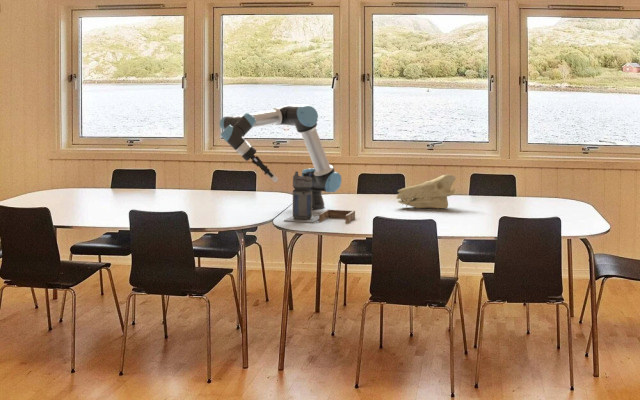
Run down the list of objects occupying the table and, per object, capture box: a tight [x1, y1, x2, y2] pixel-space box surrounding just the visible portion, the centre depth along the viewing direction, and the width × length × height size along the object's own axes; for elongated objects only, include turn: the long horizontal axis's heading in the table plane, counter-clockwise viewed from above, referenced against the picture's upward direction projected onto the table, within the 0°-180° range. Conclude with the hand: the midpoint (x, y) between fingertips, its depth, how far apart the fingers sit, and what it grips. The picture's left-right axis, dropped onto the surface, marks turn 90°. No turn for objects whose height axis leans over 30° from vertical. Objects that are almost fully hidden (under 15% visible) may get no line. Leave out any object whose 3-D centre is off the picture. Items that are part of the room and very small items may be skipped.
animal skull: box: [395, 173, 456, 209], centre depth 444 cm, size 15×35×20 cm, turn 98°
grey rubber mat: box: [283, 215, 319, 224], centre depth 394 cm, size 18×16×1 cm
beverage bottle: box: [292, 171, 313, 220], centre depth 393 cm, size 10×13×25 cm
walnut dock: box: [318, 209, 356, 224], centre depth 395 cm, size 18×15×4 cm
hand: (275, 179), depth 389 cm, fingers open, 13 cm apart
